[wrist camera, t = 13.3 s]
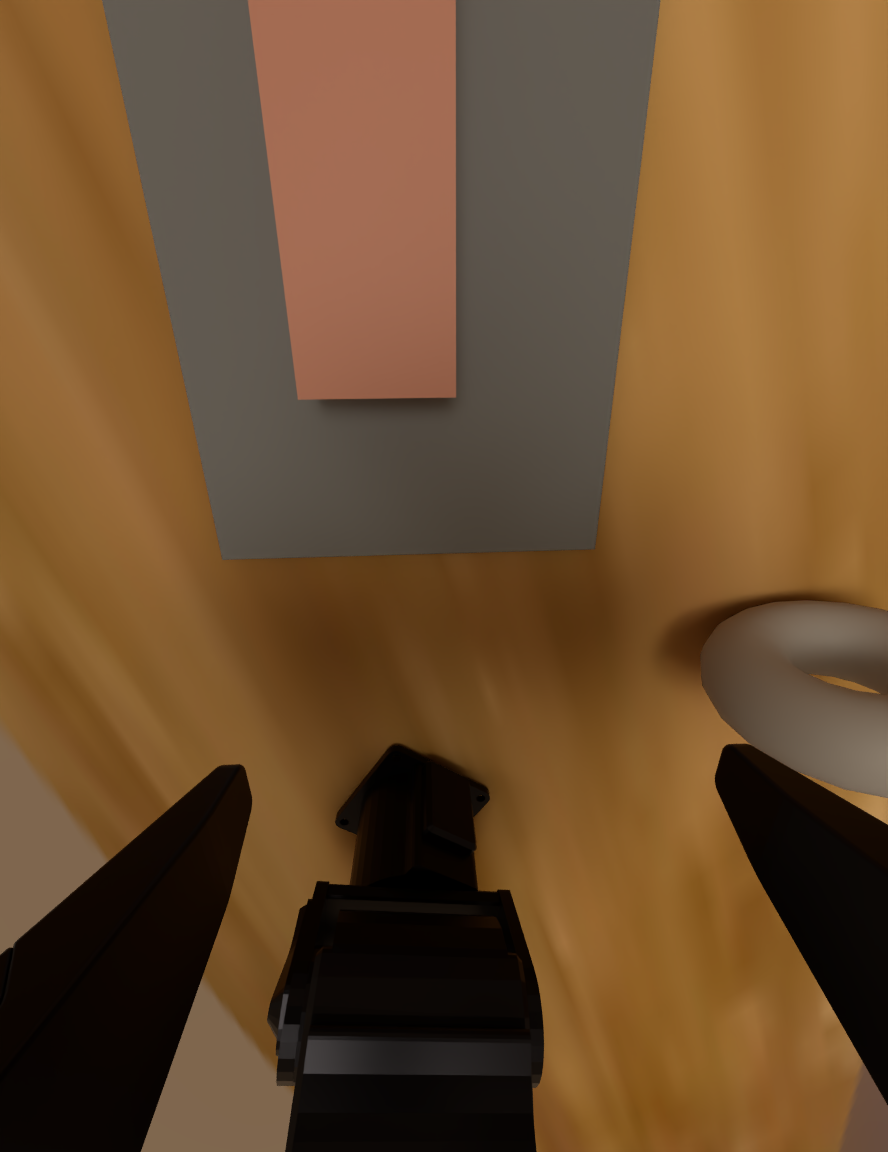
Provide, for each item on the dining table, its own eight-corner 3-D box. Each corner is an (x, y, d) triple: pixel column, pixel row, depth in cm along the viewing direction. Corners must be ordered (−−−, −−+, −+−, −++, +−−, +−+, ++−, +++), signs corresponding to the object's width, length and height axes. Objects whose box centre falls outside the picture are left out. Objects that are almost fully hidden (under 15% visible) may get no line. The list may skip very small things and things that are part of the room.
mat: (590, 544, 21) (594, 549, 21) (227, 554, 21) (222, 559, 20) (667, -132, 13) (678, -154, 13) (82, -143, 13) (66, -166, 12)
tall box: (455, 397, 15) (455, -226, 10) (297, 399, 15) (219, -234, 10) (450, 393, 18) (448, -98, 13) (317, 395, 18) (263, -101, 13)
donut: (656, 664, 24) (802, 846, 15) (660, 604, 22) (823, 763, 13) (854, 637, 24) (1127, 804, 15) (870, 575, 22) (1183, 716, 13)
